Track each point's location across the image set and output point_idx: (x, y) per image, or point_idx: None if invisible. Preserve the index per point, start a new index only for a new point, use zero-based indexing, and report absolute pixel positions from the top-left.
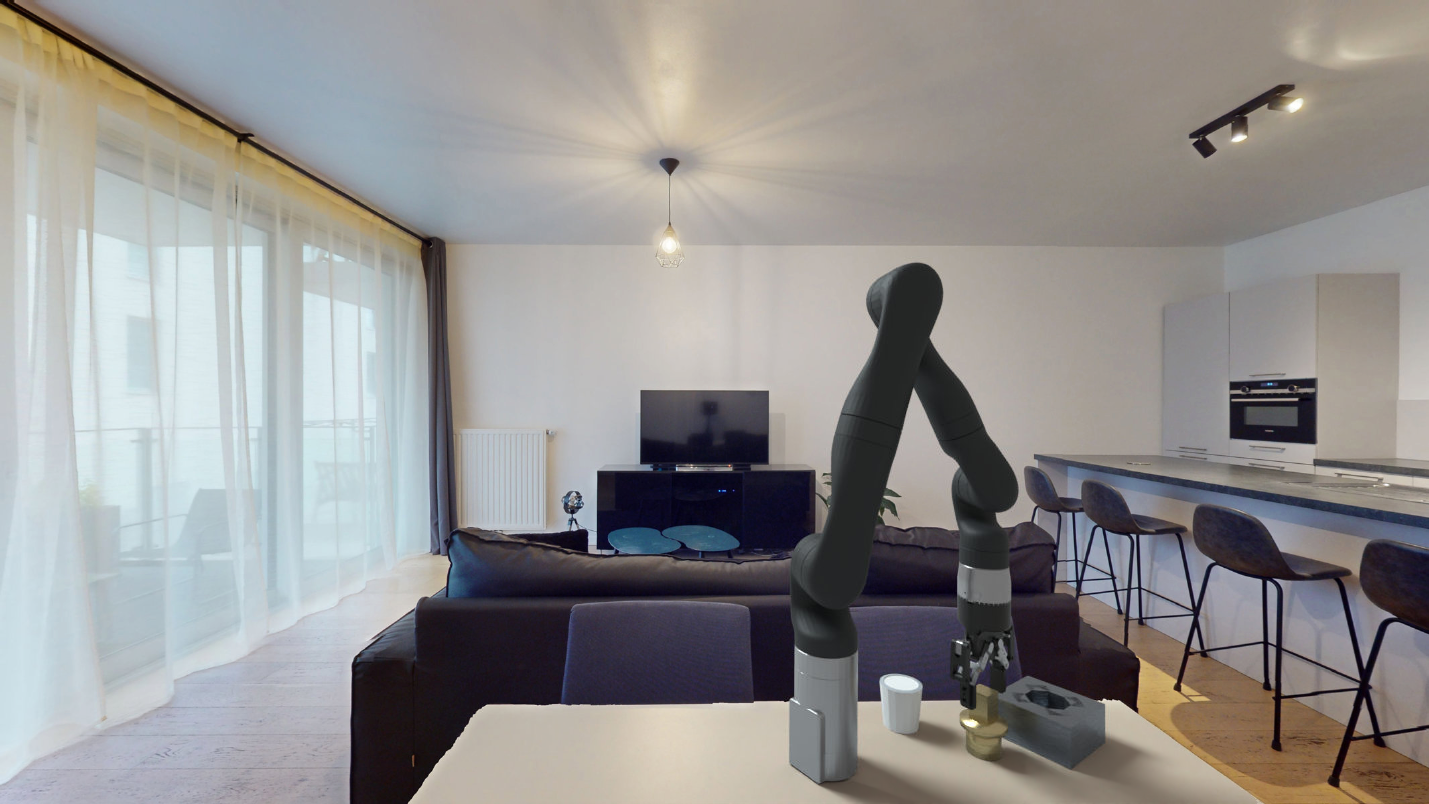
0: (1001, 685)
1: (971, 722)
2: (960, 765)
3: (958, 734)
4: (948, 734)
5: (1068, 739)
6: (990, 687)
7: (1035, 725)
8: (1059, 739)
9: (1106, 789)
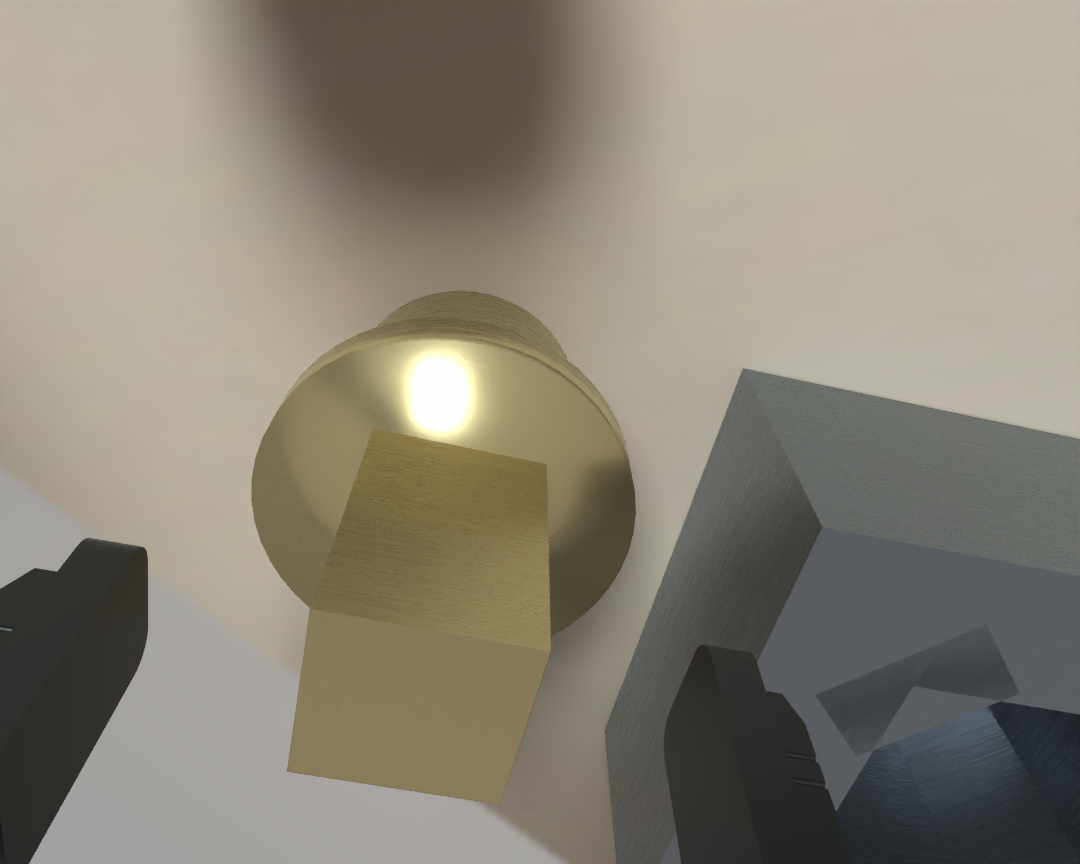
0: (675, 790)
1: (316, 465)
2: (185, 337)
3: (561, 198)
4: (506, 135)
5: (618, 859)
6: (708, 646)
7: None
8: (630, 806)
9: (542, 829)
